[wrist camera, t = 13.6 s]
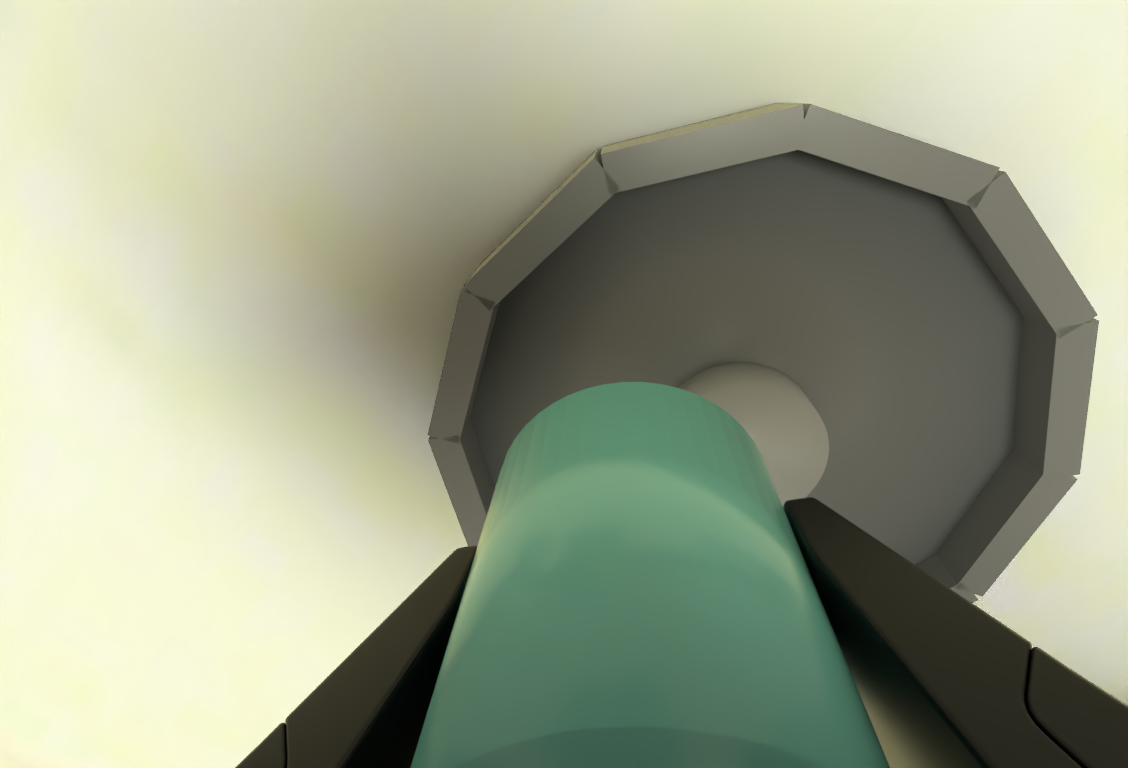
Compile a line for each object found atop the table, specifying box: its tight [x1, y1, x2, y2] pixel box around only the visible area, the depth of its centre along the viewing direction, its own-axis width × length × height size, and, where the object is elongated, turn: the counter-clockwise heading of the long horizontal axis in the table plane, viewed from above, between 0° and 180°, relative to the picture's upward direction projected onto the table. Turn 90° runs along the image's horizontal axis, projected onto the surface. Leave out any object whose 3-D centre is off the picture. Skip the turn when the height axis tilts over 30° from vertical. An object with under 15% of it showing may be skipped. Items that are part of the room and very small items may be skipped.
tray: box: [428, 103, 1099, 603], centre depth 20 cm, size 19×19×2 cm
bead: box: [411, 382, 890, 768], centre depth 7 cm, size 4×4×6 cm
